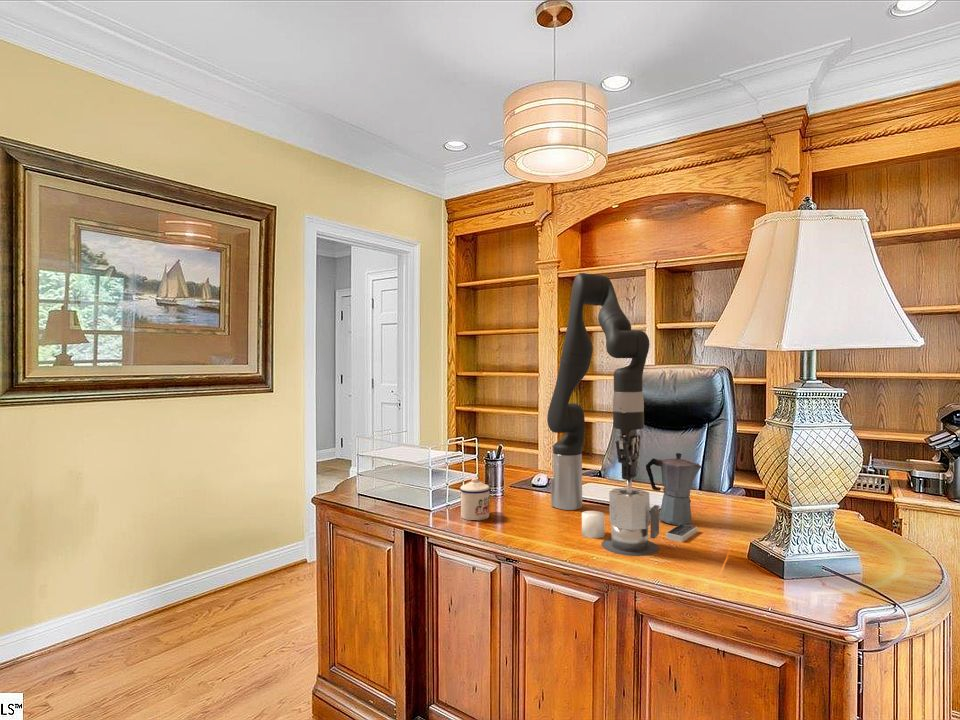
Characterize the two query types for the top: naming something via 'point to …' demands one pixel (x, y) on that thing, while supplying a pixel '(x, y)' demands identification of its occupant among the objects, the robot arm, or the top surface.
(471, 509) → the teacup with lid
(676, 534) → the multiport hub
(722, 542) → the top surface
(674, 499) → the moka pot
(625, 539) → the press carafe
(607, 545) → the coaster
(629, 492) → the plunger
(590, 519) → the white rounded cylinder
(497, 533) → the top surface
